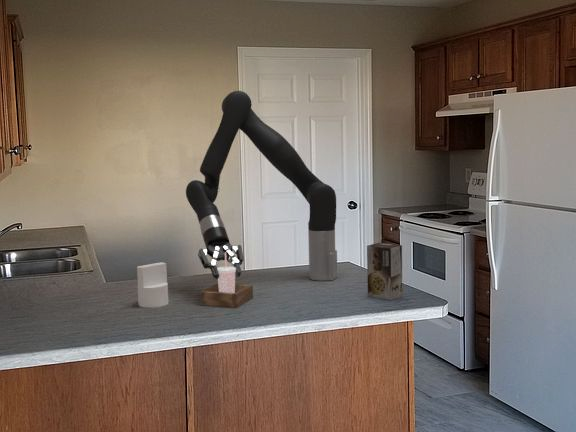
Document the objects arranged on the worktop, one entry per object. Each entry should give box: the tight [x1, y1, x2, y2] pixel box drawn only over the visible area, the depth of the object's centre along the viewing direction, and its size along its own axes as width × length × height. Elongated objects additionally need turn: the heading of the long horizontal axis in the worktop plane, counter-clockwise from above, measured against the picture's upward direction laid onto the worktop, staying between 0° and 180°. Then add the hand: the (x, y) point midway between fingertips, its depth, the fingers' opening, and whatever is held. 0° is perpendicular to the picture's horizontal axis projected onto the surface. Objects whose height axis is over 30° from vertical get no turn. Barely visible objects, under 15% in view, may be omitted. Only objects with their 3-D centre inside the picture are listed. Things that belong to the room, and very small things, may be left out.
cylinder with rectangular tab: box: [136, 261, 169, 308], centre depth 200 cm, size 9×9×12 cm
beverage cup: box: [217, 252, 236, 293], centre depth 200 cm, size 6×6×14 cm
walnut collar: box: [199, 282, 254, 309], centre depth 201 cm, size 12×12×4 cm
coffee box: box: [366, 242, 403, 301], centre depth 202 cm, size 9×6×16 cm
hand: (228, 276), depth 199 cm, fingers closed on beverage cup, 6 cm apart
